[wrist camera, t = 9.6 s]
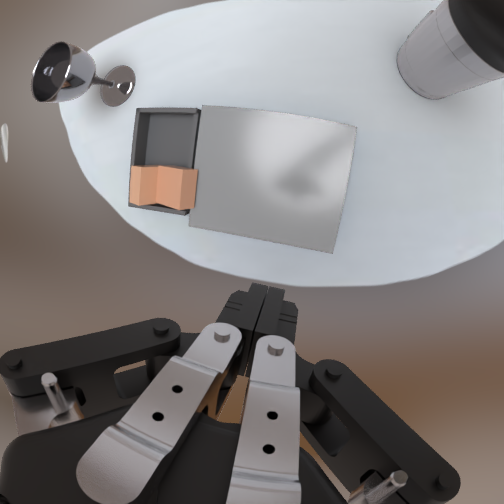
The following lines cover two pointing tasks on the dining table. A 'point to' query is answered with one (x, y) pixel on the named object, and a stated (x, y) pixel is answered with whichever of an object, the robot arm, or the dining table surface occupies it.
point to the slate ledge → (271, 176)
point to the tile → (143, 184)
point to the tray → (165, 142)
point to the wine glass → (77, 77)
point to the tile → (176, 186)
